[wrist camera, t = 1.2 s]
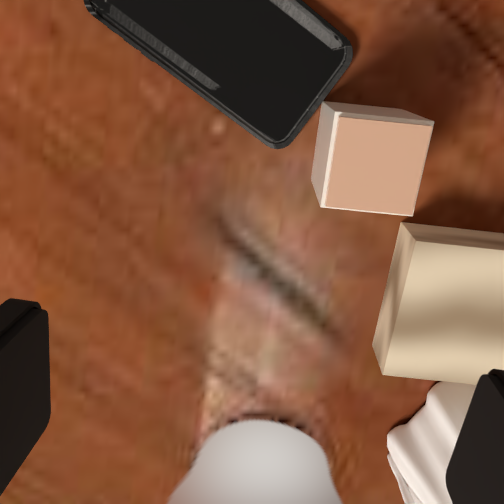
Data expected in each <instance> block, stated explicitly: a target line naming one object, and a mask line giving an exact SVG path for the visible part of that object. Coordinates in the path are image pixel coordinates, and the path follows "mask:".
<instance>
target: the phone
mask: <svg viewBox="0 0 504 504" xmlns="http://www.w3.org/2000/svg"><path fill="white" fill-rule="evenodd" d="M84 4H85V6H86V8H87V10H88V11H89V12H90V13H91V14H92V15H93V16H94V17H95V18H97V19H98V20H99V21H101V22H102V23H103V24H105V25H106V26H107V27H108V28H109V29H111V30H112V31H113V32H115V33H117V34H118V35H119V36H121V37H122V38H123V39H124V40H125V41H126V42H128V43H129V44H130V45H132V46H133V47H134V48H136V49H137V50H139V51H141V53H142V54H143V55H144V56H146V57H147V58H148V59H150V60H151V61H154V62H155V63H157V64H158V65H160V66H161V67H162V68H164V69H165V70H166V71H168V72H169V73H170V74H172V75H173V76H174V77H176V78H177V79H178V80H180V81H181V82H182V83H184V84H185V85H186V86H188V87H189V88H190V89H192V90H193V91H194V92H196V93H197V94H198V95H200V96H201V97H202V98H204V99H205V100H206V101H208V102H209V103H210V104H212V105H213V106H214V107H216V108H217V109H218V110H220V111H221V112H222V113H224V114H225V115H226V116H228V117H229V118H231V119H232V120H233V121H235V122H236V123H237V124H239V125H240V126H241V127H243V128H244V129H245V130H247V131H248V132H249V133H251V134H252V135H253V136H255V137H256V138H257V139H259V140H260V141H261V142H263V143H264V144H265V145H267V146H269V147H270V148H274V149H281V148H284V147H286V146H288V145H289V144H290V143H291V142H292V141H293V140H294V139H295V137H296V136H297V135H298V133H299V132H300V131H301V129H302V128H303V127H304V125H305V124H306V123H307V121H308V120H309V119H310V117H311V116H312V115H313V113H314V112H315V111H316V109H317V108H318V107H319V105H320V104H321V103H322V101H323V100H324V99H325V97H326V96H327V95H328V93H329V92H330V91H331V89H332V88H333V87H334V85H335V84H336V83H337V81H338V80H339V79H340V77H341V76H342V75H343V73H344V72H345V71H346V70H347V68H348V67H349V65H350V63H351V61H352V57H353V49H352V46H351V43H350V41H349V40H348V39H347V38H346V37H345V36H344V35H343V34H341V33H340V32H339V31H338V30H337V29H335V28H334V27H333V26H332V25H331V24H329V23H328V22H327V21H326V20H325V19H323V18H322V17H321V16H320V15H319V14H317V13H316V12H315V11H314V10H313V9H311V8H310V7H309V6H308V5H307V4H305V3H304V2H303V1H302V0H84Z"/></svg>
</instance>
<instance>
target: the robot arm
mask: <svg viewBox="0 0 504 504" xmlns="http://www.w3.org/2000/svg"><path fill="white" fill-rule="evenodd" d="M50 414H51V401H50V362H49V324H48V313H47V311H46V310H42V309H41V306H40V304H39V303H38V302H34V301H27V300H20V299H13V298H10V299H8V300H6V301H5V302H4V303H3V304H1V305H0V496H1V494H2V493H3V491H4V490H5V488H6V487H7V485H8V484H9V482H10V481H11V479H12V478H13V476H14V475H15V473H16V472H17V470H18V469H19V467H20V466H21V465H22V463H23V462H24V460H25V459H26V457H27V456H28V454H29V453H30V451H31V450H32V448H33V447H34V445H35V444H36V442H37V441H38V439H39V438H40V436H41V435H42V433H43V432H44V430H45V429H46V427H47V425H48V422H49V419H50ZM445 478H446V487H447V490H448V493H449V495H450V498H451V500H452V503H453V504H504V370H500V369H492V370H490V371H489V372H488V374H483V375H481V377H480V378H479V380H478V383H477V386H476V388H475V391H474V394H473V397H472V400H471V402H470V405H469V408H468V411H467V414H466V416H465V419H464V422H463V425H462V428H461V431H460V433H459V436H458V439H457V442H456V445H455V447H454V450H453V453H452V456H451V459H450V461H449V464H448V467H447V470H446V477H445Z"/></svg>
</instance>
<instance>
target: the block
mask: <svg viewBox="0 0 504 504" xmlns="http://www.w3.org/2000/svg"><path fill="white" fill-rule="evenodd" d="M372 346H373V349H374V352H375V355H376V357H377V360H378V363H379V366H380V369H381V372H382V374H383V375H389V376H399V377H408V378H417V379H426V380H436V381H445V382H454V383H464V384H473V385H477V383H478V380H479V378H480V377H481V375H483V374H488V372H489V371H490V370H492V369H500V370H504V233H496V232H487V231H478V230H469V229H460V228H451V227H441V226H432V225H423V224H414V223H405V222H401V224H400V228H399V232H398V237H397V241H396V245H395V250H394V254H393V258H392V263H391V267H390V271H389V275H388V280H387V284H386V288H385V293H384V297H383V301H382V306H381V310H380V314H379V318H378V323H377V327H376V331H375V336H374V340H373V344H372Z"/></svg>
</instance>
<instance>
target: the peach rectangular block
mask: <svg viewBox="0 0 504 504" xmlns="http://www.w3.org/2000/svg"><path fill="white" fill-rule="evenodd" d="M433 126H434V121H432V120H429V119H427V118H424V117H421V116H419V115H416V114H413V113H411V112H408V111H406V110H403V109H397V108H387V107H378V106H368V105H358V104H348V103H338V102H328V101H322V105H321V112H320V119H319V126H318V133H317V140H316V147H315V154H314V161H313V168H312V175H311V180H312V183H313V186H314V189H315V192H316V195H317V198H318V201H319V204H320V207H324V208H334V209H344V210H354V211H364V212H374V213H384V214H394V215H404V216H413V212H414V208H415V204H416V199H417V195H418V191H419V186H420V182H421V178H422V173H423V169H424V165H425V160H426V156H427V152H428V147H429V143H430V139H431V134H432V130H433Z"/></svg>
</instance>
